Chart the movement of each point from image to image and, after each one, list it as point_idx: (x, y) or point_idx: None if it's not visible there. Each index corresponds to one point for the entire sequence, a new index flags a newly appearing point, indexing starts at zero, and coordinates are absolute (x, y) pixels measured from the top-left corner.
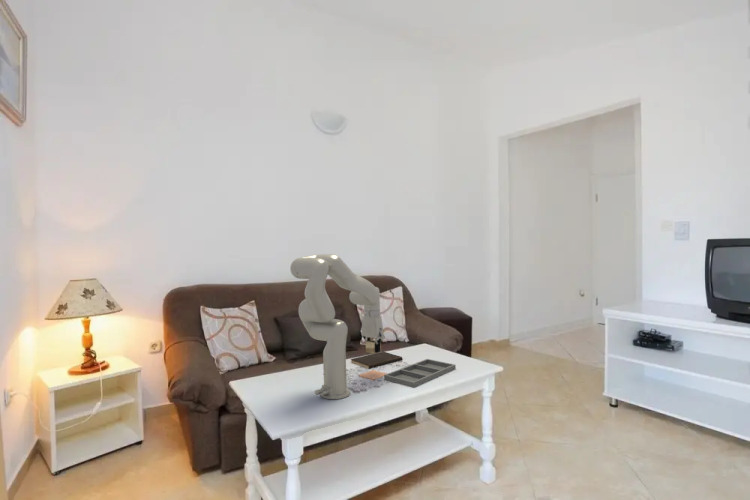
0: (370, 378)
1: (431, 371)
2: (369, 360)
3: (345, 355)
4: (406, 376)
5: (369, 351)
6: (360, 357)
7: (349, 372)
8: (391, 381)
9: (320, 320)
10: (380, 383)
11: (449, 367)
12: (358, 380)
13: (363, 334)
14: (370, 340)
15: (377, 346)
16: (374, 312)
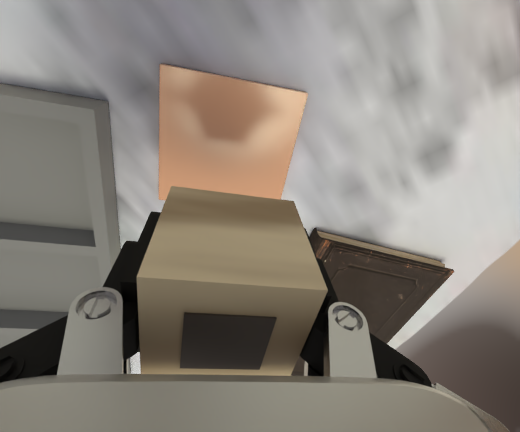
0: (196, 70)
1: (5, 313)
2: (353, 294)
3: None
4: (47, 215)
5: (241, 202)
6: (413, 306)
7: (394, 129)
8: (32, 89)
9: None
10: (79, 28)
11: None
12: (261, 4)
13: (444, 423)
14: (292, 354)
15: (119, 272)
16: None
